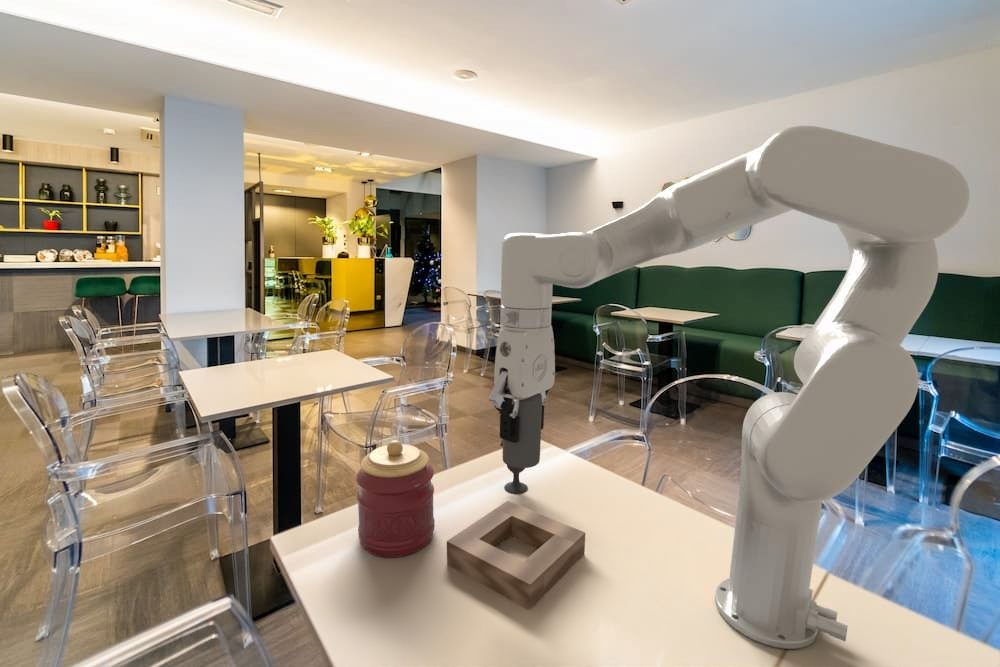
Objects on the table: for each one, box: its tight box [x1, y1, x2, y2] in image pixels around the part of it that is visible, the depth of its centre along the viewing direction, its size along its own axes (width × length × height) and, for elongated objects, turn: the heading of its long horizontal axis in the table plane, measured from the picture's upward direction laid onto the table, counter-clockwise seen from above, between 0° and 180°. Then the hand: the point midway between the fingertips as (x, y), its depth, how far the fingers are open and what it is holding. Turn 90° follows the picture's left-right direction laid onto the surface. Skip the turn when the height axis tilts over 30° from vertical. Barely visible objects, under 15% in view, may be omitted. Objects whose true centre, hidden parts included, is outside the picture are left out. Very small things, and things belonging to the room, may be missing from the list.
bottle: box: [502, 391, 543, 469], centre depth 75 cm, size 6×6×15 cm
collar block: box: [446, 500, 586, 611], centre depth 79 cm, size 16×16×4 cm
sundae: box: [500, 439, 529, 495], centre depth 102 cm, size 7×7×15 cm
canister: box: [355, 439, 436, 558], centre depth 84 cm, size 13×13×18 cm
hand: (522, 432), depth 76 cm, fingers closed on bottle, 5 cm apart
